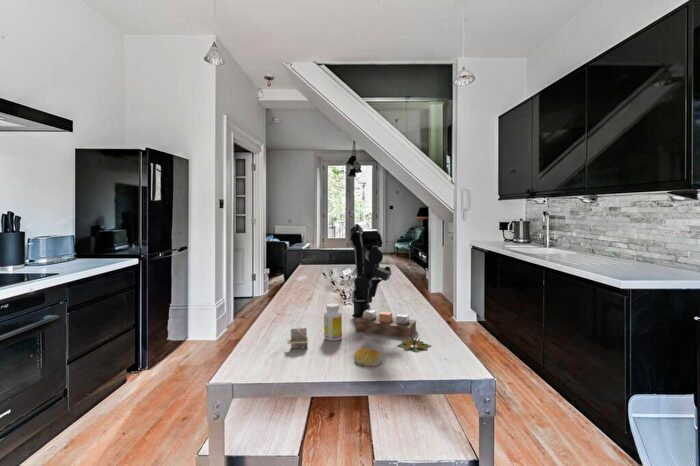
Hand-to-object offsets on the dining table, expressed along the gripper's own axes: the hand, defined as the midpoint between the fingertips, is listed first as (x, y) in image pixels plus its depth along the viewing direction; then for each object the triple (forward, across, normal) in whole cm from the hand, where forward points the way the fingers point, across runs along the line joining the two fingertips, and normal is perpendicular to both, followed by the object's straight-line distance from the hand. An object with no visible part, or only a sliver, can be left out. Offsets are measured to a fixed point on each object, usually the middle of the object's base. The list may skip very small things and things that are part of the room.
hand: (369, 298), depth 158 cm
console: (+12, 0, -7) cm, 14 cm away
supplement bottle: (+12, -17, +8) cm, 23 cm away
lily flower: (+13, -12, -22) cm, 28 cm away
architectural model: (+13, -31, +14) cm, 36 cm away
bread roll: (+13, -31, -12) cm, 36 cm away
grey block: (+9, 0, -14) cm, 16 cm away
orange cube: (+9, 0, -7) cm, 11 cm away
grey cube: (+9, 0, 0) cm, 9 cm away
